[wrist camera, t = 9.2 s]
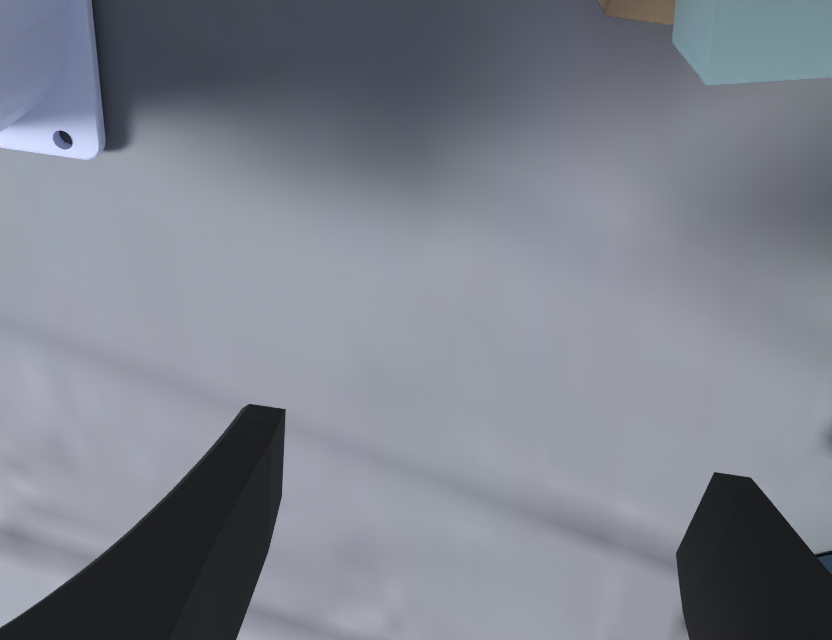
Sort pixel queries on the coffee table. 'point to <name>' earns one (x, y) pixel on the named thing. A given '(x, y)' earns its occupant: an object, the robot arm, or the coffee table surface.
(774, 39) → the tower top
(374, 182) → the coffee table surface
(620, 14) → the tower base
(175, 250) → the coffee table surface
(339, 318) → the coffee table surface
